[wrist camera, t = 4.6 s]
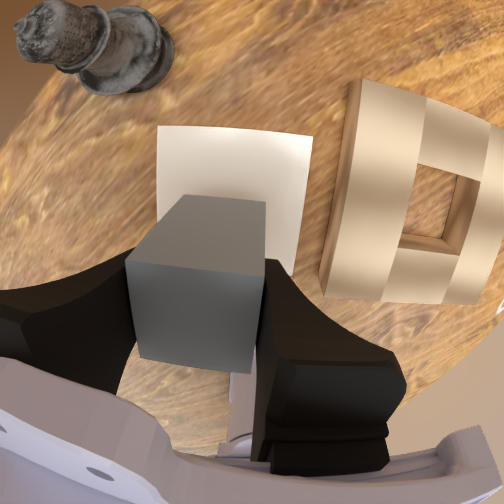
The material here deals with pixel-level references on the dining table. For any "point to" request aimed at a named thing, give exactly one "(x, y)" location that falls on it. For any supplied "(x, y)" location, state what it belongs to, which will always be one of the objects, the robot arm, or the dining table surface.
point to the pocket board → (398, 196)
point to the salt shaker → (97, 45)
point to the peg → (200, 284)
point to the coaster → (239, 175)
